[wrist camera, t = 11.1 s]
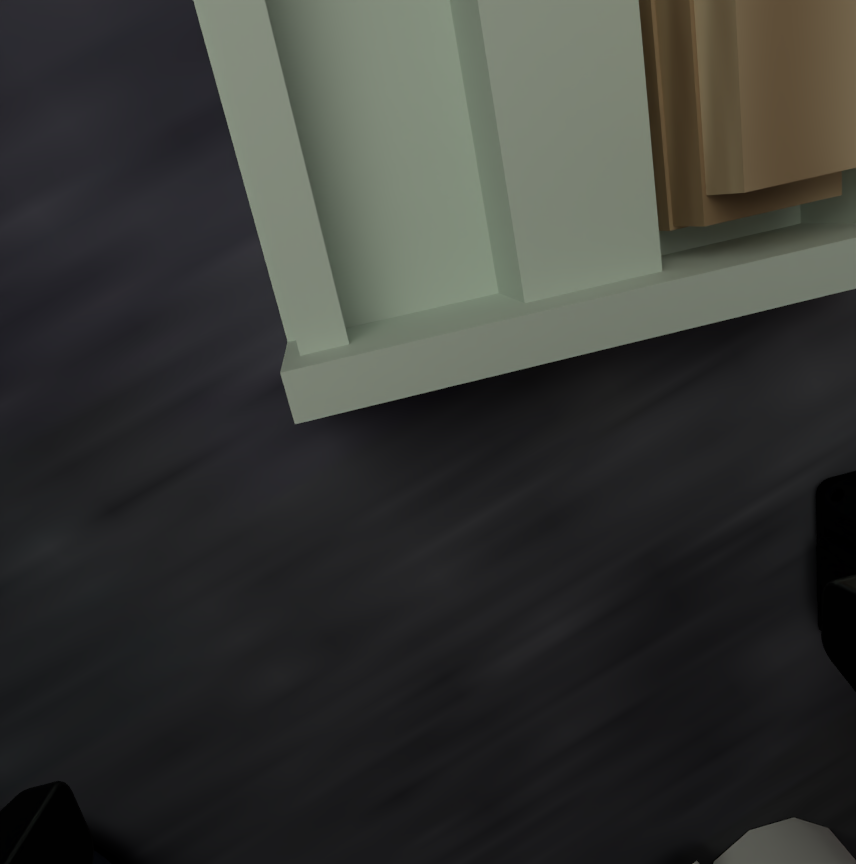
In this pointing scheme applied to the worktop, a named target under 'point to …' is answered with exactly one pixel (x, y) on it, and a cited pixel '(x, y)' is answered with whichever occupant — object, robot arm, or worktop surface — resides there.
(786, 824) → the fire extinguisher
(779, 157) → the offcut stack
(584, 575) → the worktop surface
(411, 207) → the rack
